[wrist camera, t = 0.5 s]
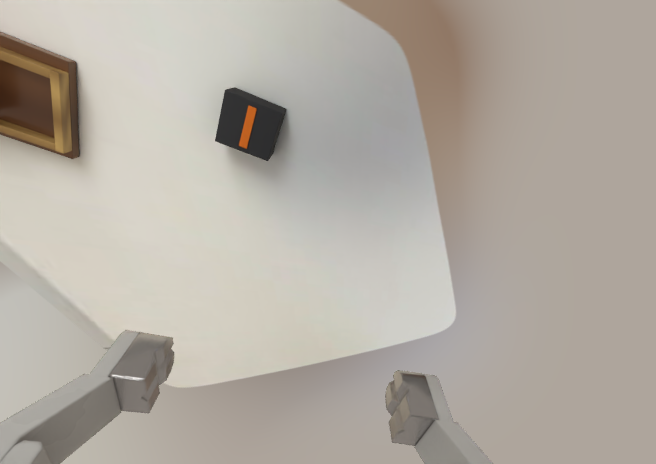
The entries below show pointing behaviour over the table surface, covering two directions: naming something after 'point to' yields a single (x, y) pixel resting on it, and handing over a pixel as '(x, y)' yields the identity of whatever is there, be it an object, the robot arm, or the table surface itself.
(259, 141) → the black block with stripe
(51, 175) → the table surface
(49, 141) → the wooden display base
